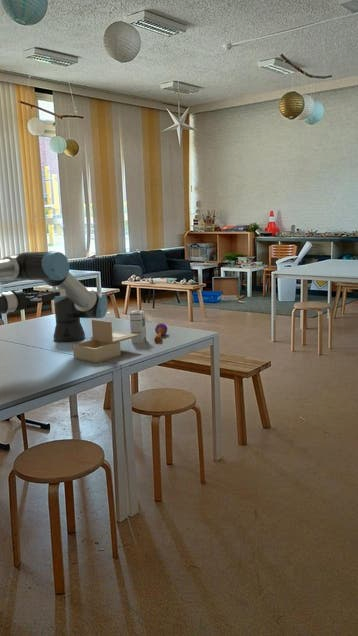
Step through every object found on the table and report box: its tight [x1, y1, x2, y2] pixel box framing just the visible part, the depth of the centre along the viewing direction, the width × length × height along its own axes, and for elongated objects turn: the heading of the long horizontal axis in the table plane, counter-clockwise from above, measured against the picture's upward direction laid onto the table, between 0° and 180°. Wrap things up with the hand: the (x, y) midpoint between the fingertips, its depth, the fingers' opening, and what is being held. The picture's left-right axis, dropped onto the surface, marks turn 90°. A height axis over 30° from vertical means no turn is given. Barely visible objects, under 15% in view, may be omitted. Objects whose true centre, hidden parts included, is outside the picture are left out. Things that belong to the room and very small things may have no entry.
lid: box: [90, 318, 138, 343], centre depth 248 cm, size 15×15×9 cm
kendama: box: [153, 322, 168, 344], centre depth 272 cm, size 6×6×20 cm
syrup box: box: [128, 309, 147, 344], centre depth 266 cm, size 6×6×14 cm
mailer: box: [72, 339, 122, 364], centre depth 241 cm, size 14×14×6 cm
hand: (64, 292), depth 226 cm, fingers closed
